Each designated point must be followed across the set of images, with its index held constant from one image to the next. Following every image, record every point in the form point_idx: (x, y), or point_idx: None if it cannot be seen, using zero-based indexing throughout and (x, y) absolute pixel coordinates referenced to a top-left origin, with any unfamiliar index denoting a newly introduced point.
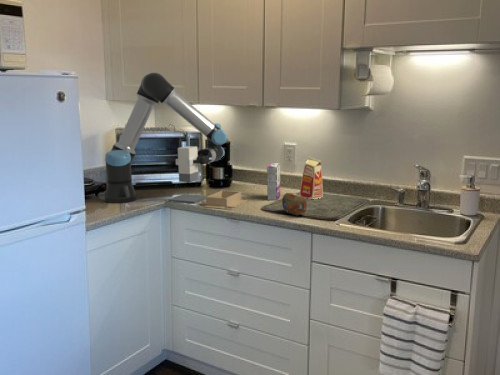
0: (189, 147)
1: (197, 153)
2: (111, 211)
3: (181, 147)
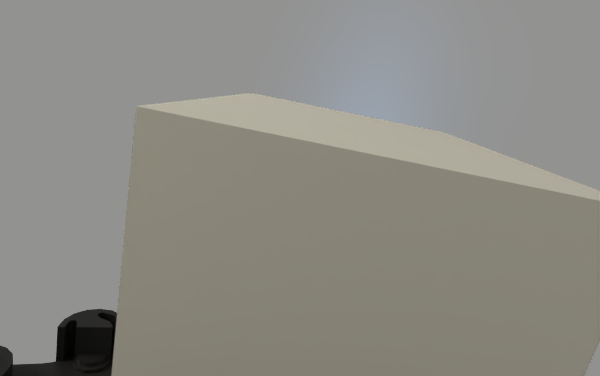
0: (305, 113)
1: (113, 354)
2: None
3: (458, 140)
